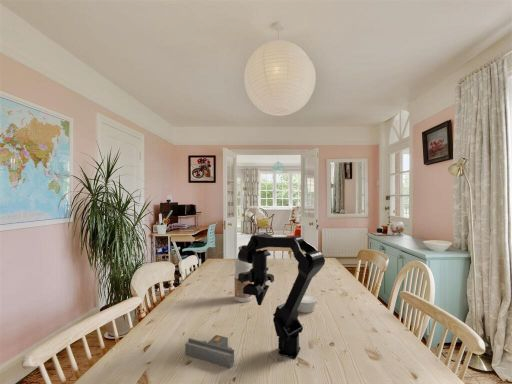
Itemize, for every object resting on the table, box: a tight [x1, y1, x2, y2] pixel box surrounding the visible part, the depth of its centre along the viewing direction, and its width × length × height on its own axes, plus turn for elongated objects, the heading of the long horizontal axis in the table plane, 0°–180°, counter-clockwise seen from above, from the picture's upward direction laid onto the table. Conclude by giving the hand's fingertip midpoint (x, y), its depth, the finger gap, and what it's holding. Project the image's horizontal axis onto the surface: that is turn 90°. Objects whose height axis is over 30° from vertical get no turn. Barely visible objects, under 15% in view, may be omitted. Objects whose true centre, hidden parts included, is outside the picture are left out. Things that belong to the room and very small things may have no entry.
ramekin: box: [298, 293, 317, 314], centre depth 129 cm, size 11×11×5 cm
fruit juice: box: [234, 245, 253, 303], centre depth 142 cm, size 9×9×28 cm
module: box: [207, 334, 229, 348], centre depth 94 cm, size 5×7×5 cm
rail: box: [184, 337, 235, 369], centre depth 92 cm, size 18×6×5 cm, turn 67°
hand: (259, 304), depth 105 cm, fingers closed
